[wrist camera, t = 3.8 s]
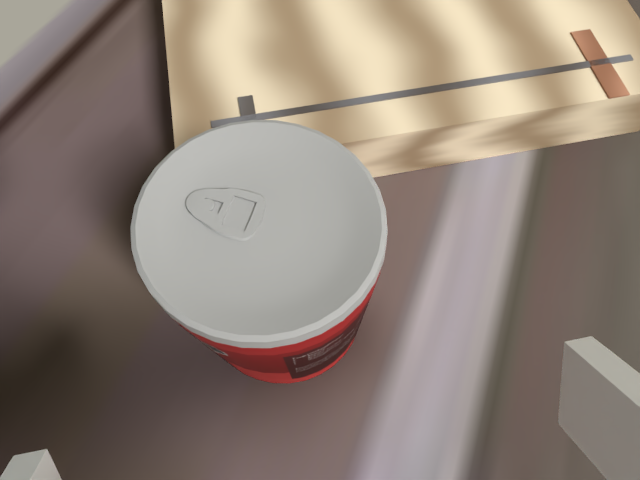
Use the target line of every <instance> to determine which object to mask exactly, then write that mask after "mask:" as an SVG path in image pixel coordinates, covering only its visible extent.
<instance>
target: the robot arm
mask: <svg viewBox="0 0 640 480" xmlns="http://www.w3.org/2000/svg"><path fill="white" fill-rule="evenodd" d="M558 424H559V425H560V426H561V427H562V428H563V430H564V431H565V432H566V433H567V434H568V435H569V436H570V438H571V439H572V440H573V441H574V442H575V443H576V445H577V446H578V447H579V448H580V449H581V450H582V451H583V453H584V454H585V455H586V456H587V457H588V458H589V459H590V461H591V462H592V463H593V464H594V465H595V466H596V468H597V469H598V470H599V471H600V472H601V473H602V474H603V476H604V477H605V478H606V479H607V480H640V374H639V373H638V372H637V371H636V370H634V369H633V368H632V367H631V366H629V365H628V364H627V363H625V362H624V361H623V360H622V359H620V358H619V357H618V356H616V355H615V354H614V353H613V352H611V351H610V350H609V349H607V348H606V347H605V346H604V345H602V344H601V343H600V342H598V341H597V340H596V339H595V338H593V337H592V336H590V337H585V338H581V339H576V340H571V341H566V342H564V352H563V365H562V378H561V391H560V403H559V416H558ZM0 480H62V479H61V477H60V475H59V473H58V471H57V469H56V467H55V464H54V462H53V460H52V458H51V456H50V454H49V452H48V450H47V449H44V450H39V451H34V452H29V453H24V454H19V455H14V456H13V457H12V459H11V461H10V462H9V464H8V465H7V467H6V469H5V470H4V472H3V473H2V475H1V477H0Z"/></svg>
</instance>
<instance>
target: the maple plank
mask: <svg viewBox="0 0 640 480" xmlns="http://www.w3.org/2000/svg"><path fill="white" fill-rule="evenodd" d="M162 7H163V18H164V30H165V41H166V53H167V64H168V76H169V87H170V99H171V110H172V122H173V133H174V145H175V149H176V148H177V147H178V146H180V145H181V144H183V143H184V142H185V141H187V140H188V139H190V138H192V137H194V136H196V135H198V134H201V133H203V132H205V131H207V130H209V129H212V128H215V127H219V126H222V125H225V124H229V123H234V122H241V121H248V120H278V121H283V122H289V123H295V124H299V125H302V126H305V127H308V128H311V129H314V130H317V131H320V132H321V133H323V134H325V135H327V136H329V137H331V138H333V139H334V140H336V141H338V142H339V143H341V144H342V145H343V146H344V147H346V148H347V149H348V150H349V151H351V152H352V153H353V154H355V155H356V157H357V158H358V159H359V160H360V161H361V162H362V164H363V165H364V166H365V167H366V168H367V169H368V170H369V172H370V174H371V175H372V177H373V178H374V177H379V176H385V175H391V174H396V173H402V172H408V171H414V170H419V169H425V168H431V167H436V166H442V165H448V164H454V163H459V162H465V161H471V160H476V159H482V158H488V157H494V156H499V155H505V154H511V153H517V152H522V151H528V150H534V149H539V148H545V147H551V146H557V145H562V144H568V143H574V142H579V141H585V140H591V139H597V138H602V137H608V136H614V135H619V134H625V133H631V132H637V131H639V130H640V19H639V17H638V16H637V14H636V13H635V11H634V10H633V8H632V7H631V5H630V4H629V3H628V1H627V0H162Z"/></svg>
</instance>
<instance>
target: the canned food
mask: <svg viewBox="0 0 640 480" xmlns="http://www.w3.org/2000/svg"><path fill="white" fill-rule="evenodd" d="M130 228H131V249H132V253H133V257H134V260H135V263H136V267H137V270H138V273H139V275H140V276H141V278H142V280H143V282H144V283H145V285H146V287H147V289H148V291H149V292H150V293H151V294H152V296H153V298H154V299H155V301H156V302H157V303H158V304H159V305H160V306H161V307H162V308H163V309H164V310H165V312H166V313H167V314H168V315H169V316H170V317H171V318H172V319H174V320H175V321H176V322H177V323H178V324H179V325H180V326H181V327H183V328H184V329H185V330H186V331H188V332H189V333H190V334H192V335H193V336H194V337H196V338H197V339H198V340H199V341H201V342H202V343H203V344H205V345H206V346H207V347H209V348H210V349H211V350H212V351H214V352H215V353H216V354H218V355H219V356H220V357H222V358H223V359H224V360H225V361H227V362H228V363H229V364H231V365H232V366H234V367H235V368H236V369H238V370H239V371H241V372H242V373H244V374H246V375H248V376H251V377H253V378H255V379H257V380H262V381H266V382H271V383H294V382H299V381H305V380H308V379H310V378H313V377H315V376H318V375H320V374H322V373H323V372H325V371H326V370H328V369H329V368H331V367H333V366H334V365H335V364H336V363H337V362H338V361H339V360H340V359H341V358H342V357H343V356H344V355H345V353H346V352H347V350H348V349H349V347H350V346H351V344H352V343H353V341H354V338H355V336H356V333H357V331H358V328H359V325H360V323H361V320H362V318H363V315H364V313H365V310H366V308H367V305H368V303H369V300H370V298H371V295H372V293H373V290H374V288H375V285H376V282H377V280H378V277H379V275H380V270H381V267H382V265H383V262H384V257H385V250H386V243H387V232H388V231H387V218H386V209H385V206H384V203H383V199H382V196H381V193H380V190H379V188H378V186H377V184H376V183H375V181H374V179H373V177H372V175H371V174H370V172H369V170H368V169H367V168H366V167H365V166H364V165H363V164H362V162H361V161H360V160H359V159H358V158H357V157H356V155H355V154H353V153H352V152H351V151H349V150H348V149H347V148H346V147H344V146H343V145H342V144H341V143H339V142H338V141H336V140H334V139H333V138H331V137H329V136H327V135H325V134H323V133H321V132H320V131H317V130H314V129H311V128H308V127H305V126H302V125H299V124H295V123H289V122H283V121H278V120H248V121H241V122H234V123H229V124H225V125H222V126H219V127H215V128H212V129H209V130H207V131H205V132H203V133H201V134H198V135H196V136H194V137H192V138H190V139H188V140H187V141H185V142H184V143H183V144H181V145H180V146H178V147H177V148H176V149H174V150H173V151H171V152H170V153H169V154H168V155H167V156H166V157H165V158H164V159H163V160H162V161H161V162H160V163H159V164H158V165H157V166H156V167H155V168H154V170H153V171H152V173H151V174H150V176H149V177H148V179H147V180H146V182H145V183H144V185H143V186H142V189H141V191H140V194H139V196H138V198H137V201H136V203H135V206H134V211H133V216H132V222H131V227H130Z"/></svg>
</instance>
